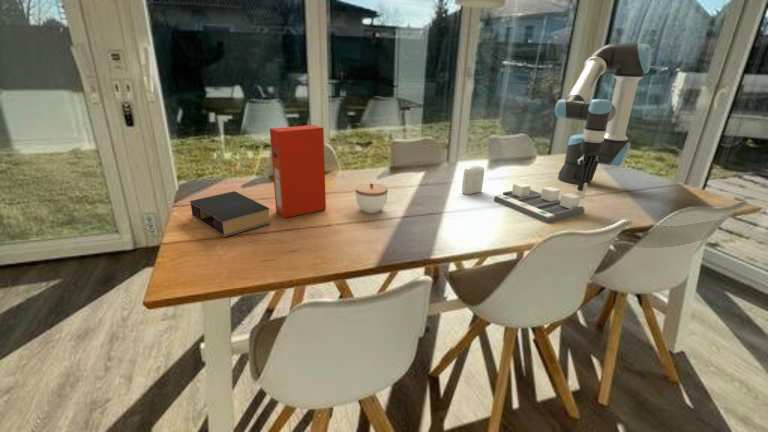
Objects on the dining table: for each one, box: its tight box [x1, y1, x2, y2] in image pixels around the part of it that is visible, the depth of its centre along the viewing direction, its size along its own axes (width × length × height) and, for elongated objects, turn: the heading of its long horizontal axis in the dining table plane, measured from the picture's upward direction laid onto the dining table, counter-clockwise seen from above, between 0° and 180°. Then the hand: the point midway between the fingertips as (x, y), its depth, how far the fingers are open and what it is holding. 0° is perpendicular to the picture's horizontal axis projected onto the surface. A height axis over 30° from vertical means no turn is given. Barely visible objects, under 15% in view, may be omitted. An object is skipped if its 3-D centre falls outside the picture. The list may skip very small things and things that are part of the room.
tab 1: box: [511, 182, 531, 197], centre depth 177 cm, size 5×5×4 cm
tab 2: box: [560, 192, 581, 209], centre depth 165 cm, size 5×5×4 cm
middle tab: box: [541, 186, 561, 202], centre depth 173 cm, size 5×5×4 cm
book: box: [189, 190, 271, 238], centre depth 147 cm, size 17×25×7 cm
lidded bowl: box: [354, 182, 389, 214], centre depth 160 cm, size 13×13×11 cm
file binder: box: [269, 124, 327, 219], centre depth 153 cm, size 8×17×32 cm, turn 126°
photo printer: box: [461, 165, 485, 195], centre depth 184 cm, size 10×4×12 cm, turn 123°
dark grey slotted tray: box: [493, 189, 586, 224], centre depth 170 cm, size 22×28×3 cm
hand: (580, 197), depth 168 cm, fingers closed
